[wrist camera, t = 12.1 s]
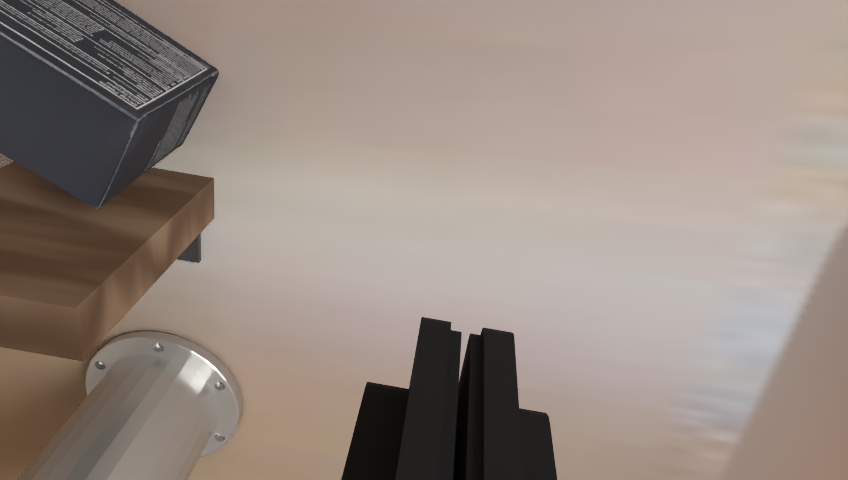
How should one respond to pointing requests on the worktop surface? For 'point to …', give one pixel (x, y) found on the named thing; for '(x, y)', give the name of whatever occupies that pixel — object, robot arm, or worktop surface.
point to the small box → (93, 93)
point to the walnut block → (88, 254)
